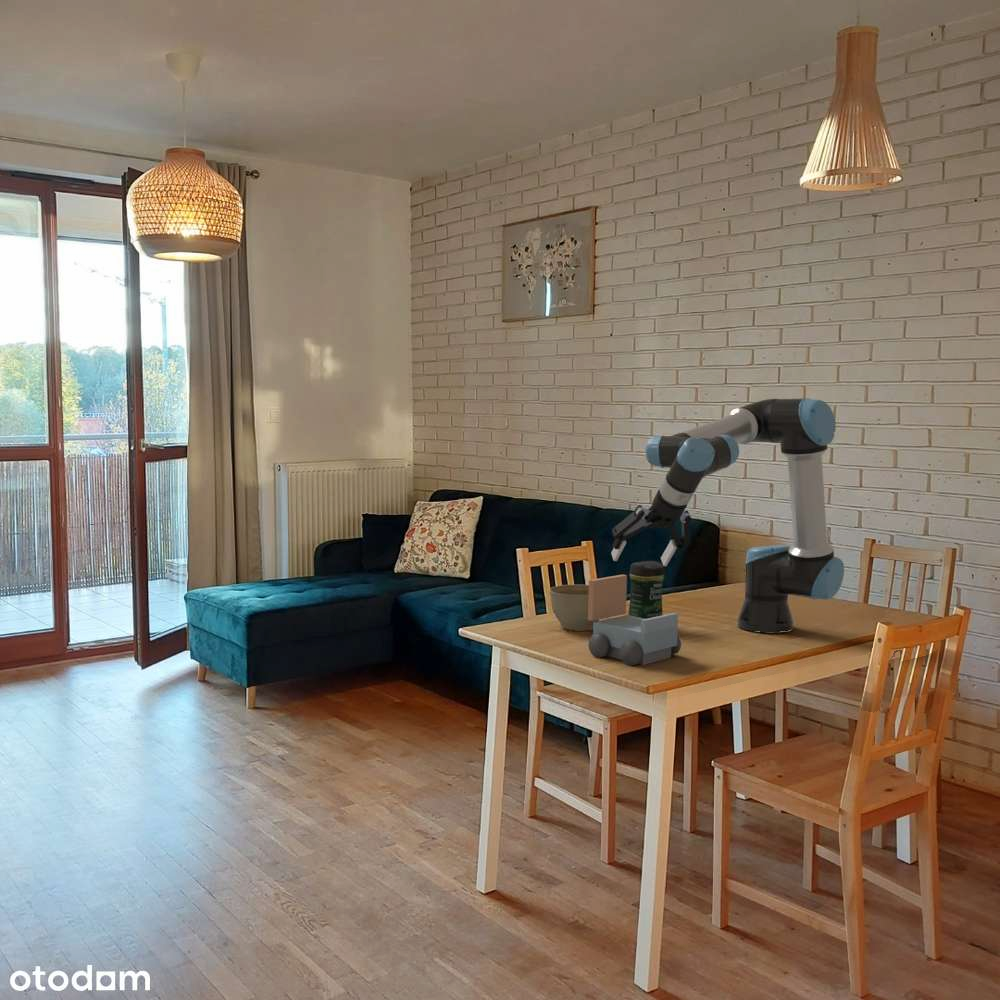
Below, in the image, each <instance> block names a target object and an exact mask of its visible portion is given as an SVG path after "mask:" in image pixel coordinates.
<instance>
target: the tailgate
mask: <svg viewBox="0 0 1000 1000" xmlns="http://www.w3.org/2000/svg"><path fill="white" fill-rule="evenodd" d="M588 585H589V594H588V620H591V621H594V620H599V621H600V620H604V619H609V618H614V617H619V616H624V615H626V613H627V591H628V590H627V587H628V586H627V585H628V575H626V574H618V575H612V576H606V577H601V578H599V577H598V578H593V579H588Z"/></svg>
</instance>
